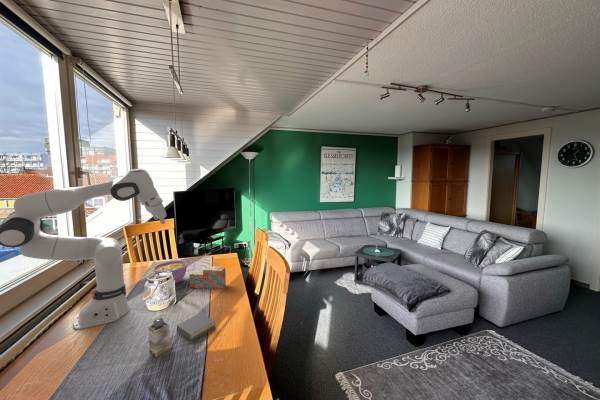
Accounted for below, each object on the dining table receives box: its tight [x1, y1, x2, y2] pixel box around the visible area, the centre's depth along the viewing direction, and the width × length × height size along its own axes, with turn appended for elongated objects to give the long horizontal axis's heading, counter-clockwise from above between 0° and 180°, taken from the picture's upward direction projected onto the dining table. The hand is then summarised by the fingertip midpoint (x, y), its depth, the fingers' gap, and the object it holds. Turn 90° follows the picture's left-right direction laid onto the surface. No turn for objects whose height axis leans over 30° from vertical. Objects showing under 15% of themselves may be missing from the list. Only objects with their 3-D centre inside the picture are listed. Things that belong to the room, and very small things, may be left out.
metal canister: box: [153, 317, 164, 330], centre depth 100 cm, size 3×3×3 cm
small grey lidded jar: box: [147, 319, 172, 358], centre depth 101 cm, size 6×6×10 cm
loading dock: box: [176, 312, 217, 342], centre depth 114 cm, size 12×12×3 cm
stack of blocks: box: [188, 266, 227, 290], centre depth 158 cm, size 21×6×12 cm, turn 85°
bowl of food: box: [153, 260, 188, 284], centre depth 164 cm, size 20×20×12 cm
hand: (160, 221), depth 133 cm, fingers open, 8 cm apart
